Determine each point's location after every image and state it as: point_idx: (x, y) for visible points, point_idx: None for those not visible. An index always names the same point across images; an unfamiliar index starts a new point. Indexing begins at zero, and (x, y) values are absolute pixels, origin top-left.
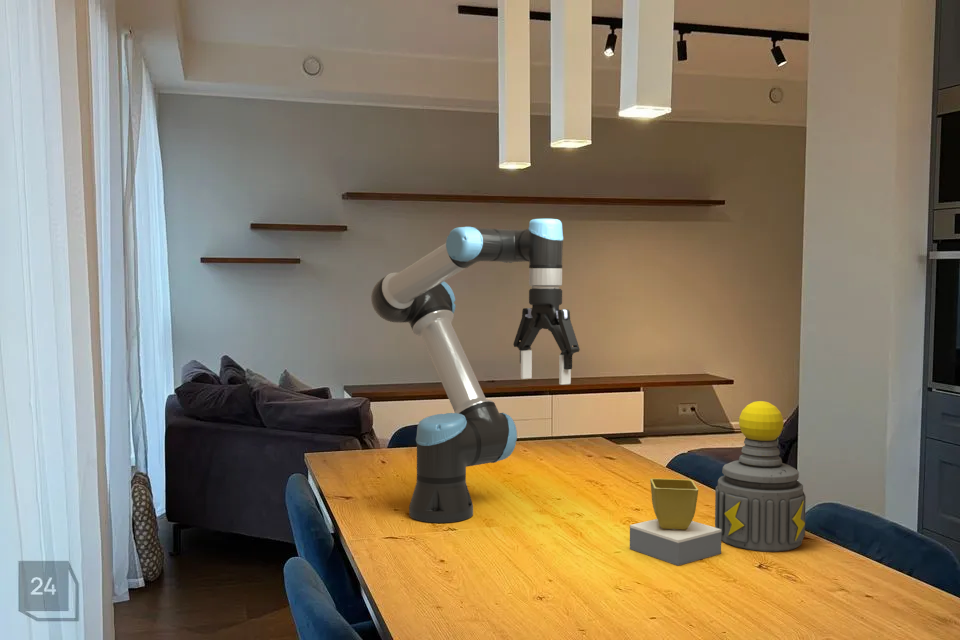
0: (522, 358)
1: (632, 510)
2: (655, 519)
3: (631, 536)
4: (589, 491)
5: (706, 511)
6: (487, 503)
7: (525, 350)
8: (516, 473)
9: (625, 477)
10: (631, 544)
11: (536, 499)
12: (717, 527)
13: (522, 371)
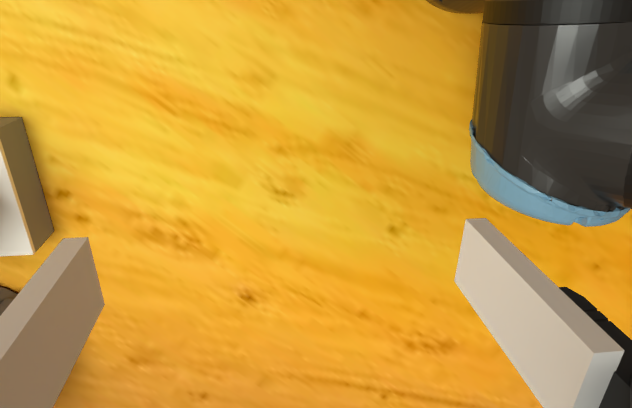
0: (549, 302)
1: (246, 287)
2: (15, 205)
3: (1, 124)
4: (394, 304)
5: (172, 374)
6: (467, 88)
7: (604, 393)
8: (583, 276)
9: (419, 399)
10: (11, 119)
11: (419, 193)
12: (2, 301)
13: (491, 242)
